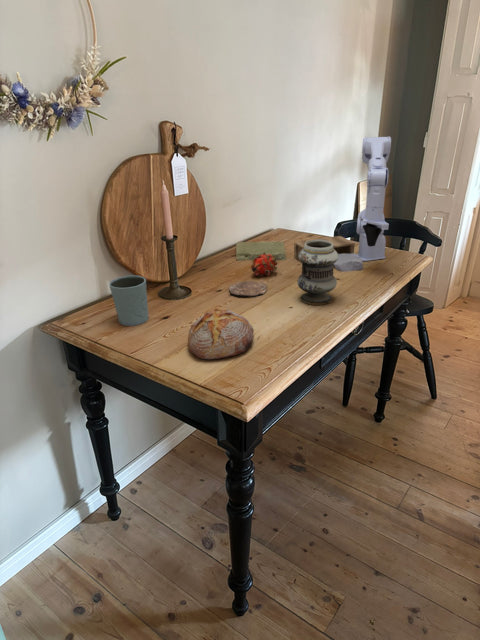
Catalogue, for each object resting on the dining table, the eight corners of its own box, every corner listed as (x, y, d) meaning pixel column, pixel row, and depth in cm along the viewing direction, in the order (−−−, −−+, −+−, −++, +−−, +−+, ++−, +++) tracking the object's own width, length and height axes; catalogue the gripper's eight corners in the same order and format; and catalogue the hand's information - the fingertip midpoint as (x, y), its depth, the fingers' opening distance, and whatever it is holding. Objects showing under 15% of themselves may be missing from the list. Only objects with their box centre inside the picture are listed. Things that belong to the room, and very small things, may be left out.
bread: (175, 360, 118) (169, 324, 114) (211, 327, 134) (207, 294, 130) (234, 368, 112) (230, 330, 108) (265, 333, 128) (262, 298, 124)
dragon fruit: (277, 274, 174) (255, 288, 167) (262, 258, 176) (240, 271, 169) (286, 260, 167) (264, 273, 160) (270, 243, 169) (247, 256, 162)
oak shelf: (338, 251, 191) (339, 235, 188) (354, 259, 181) (355, 243, 179) (293, 257, 186) (294, 241, 183) (306, 266, 176) (307, 249, 173)
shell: (266, 299, 150) (266, 288, 148) (226, 299, 151) (226, 288, 150) (267, 286, 160) (267, 276, 159) (230, 286, 161) (230, 276, 160)
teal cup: (155, 321, 136) (150, 283, 131) (121, 330, 132) (115, 290, 127) (143, 309, 144) (138, 272, 139) (111, 317, 140) (104, 279, 135)
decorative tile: (236, 248, 201) (236, 240, 199) (283, 247, 200) (283, 239, 199) (234, 262, 184) (234, 254, 183) (286, 261, 183) (286, 253, 182)
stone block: (339, 277, 170) (365, 269, 171) (337, 265, 168) (364, 257, 169) (328, 268, 181) (353, 260, 181) (326, 256, 179) (351, 249, 179)
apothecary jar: (314, 310, 140) (316, 251, 133) (289, 297, 149) (289, 242, 142) (344, 300, 146) (347, 243, 138) (317, 289, 155) (320, 235, 148)
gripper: (352, 203, 163) (350, 241, 169) (376, 211, 150) (373, 252, 156) (370, 201, 165) (367, 239, 171) (395, 209, 152) (391, 250, 158)
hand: (371, 245), depth 163 cm, fingers closed
